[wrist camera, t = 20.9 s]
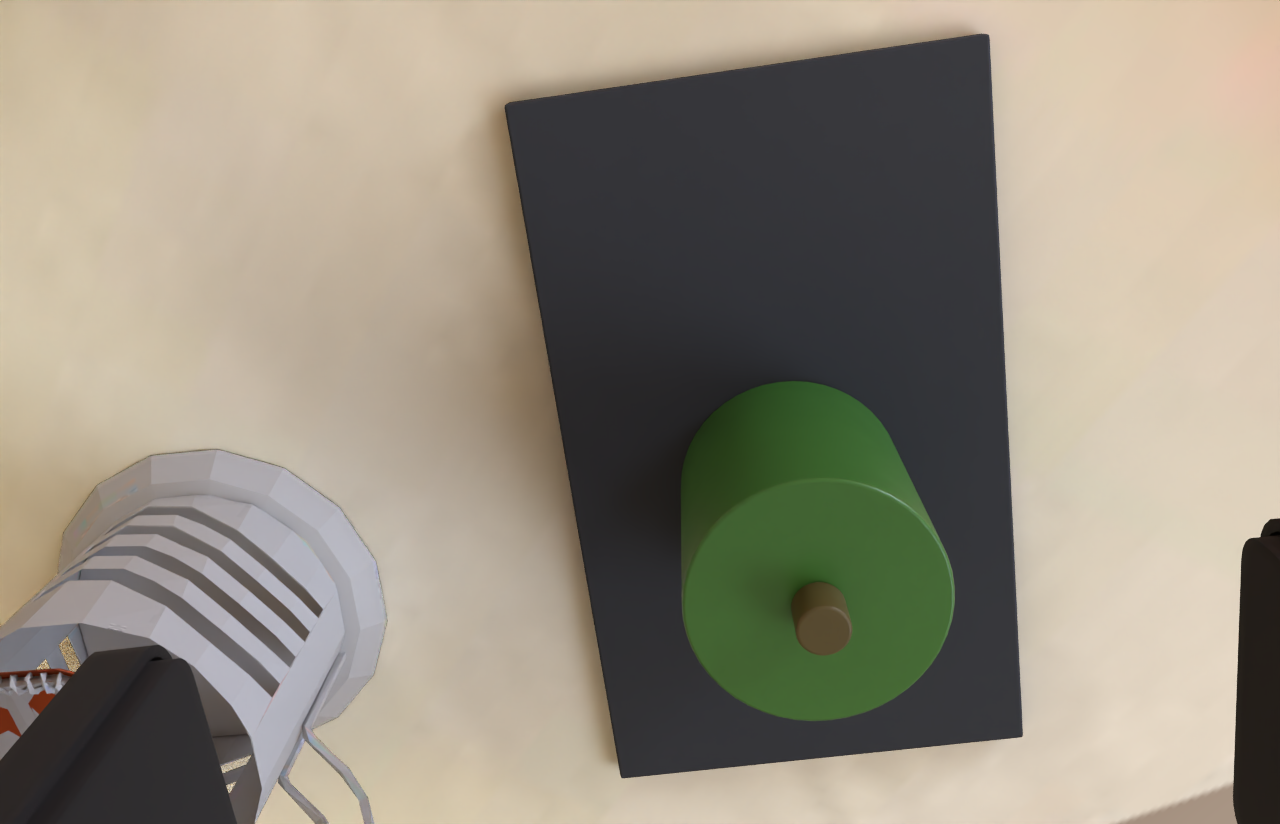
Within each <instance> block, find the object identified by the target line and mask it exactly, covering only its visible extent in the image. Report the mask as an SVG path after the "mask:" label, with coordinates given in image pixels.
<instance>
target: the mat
mask: <svg viewBox="0 0 1280 824" xmlns="http://www.w3.org/2000/svg"><path fill="white" fill-rule="evenodd" d="M505 112H506V118H507V124H508V130H509V135H510V141H511V147H512V153H513V159H514V164H515V170H516V176H517V182H518V187H519V193H520V199H521V205H522V210H523V216H524V222H525V228H526V233H527V239H528V245H529V251H530V256H531V262H532V268H533V274H534V280H535V285H536V291H537V297H538V303H539V308H540V314H541V320H542V326H543V331H544V337H545V343H546V349H547V354H548V360H549V366H550V372H551V377H552V383H553V389H554V395H555V401H556V406H557V412H558V418H559V424H560V429H561V435H562V441H563V447H564V452H565V458H566V464H567V470H568V475H569V481H570V487H571V493H572V498H573V504H574V510H575V516H576V522H577V527H578V533H579V539H580V545H581V550H582V556H583V562H584V568H585V573H586V579H587V585H588V591H589V596H590V602H591V608H592V614H593V619H594V625H595V631H596V637H597V643H598V648H599V654H600V660H601V666H602V671H603V677H604V683H605V689H606V694H607V700H608V706H609V712H610V717H611V723H612V729H613V735H614V740H615V746H616V752H617V758H618V764H619V769H620V775H621V777H622V778H631V777H640V776H650V775H660V774H669V773H679V772H689V771H698V770H708V769H718V768H728V767H737V766H747V765H757V764H766V763H776V762H786V761H795V760H805V759H815V758H824V757H834V756H844V755H853V754H863V753H873V752H882V751H892V750H902V749H911V748H921V747H931V746H941V745H950V744H960V743H970V742H979V741H989V740H999V739H1008V738H1018V737H1022V735H1023V729H1022V708H1021V687H1020V667H1019V646H1018V625H1017V604H1016V583H1015V562H1014V541H1013V520H1012V499H1011V478H1010V457H1009V437H1008V416H1007V395H1006V374H1005V353H1004V332H1003V311H1002V290H1001V269H1000V248H999V227H998V207H997V186H996V165H995V144H994V123H993V102H992V81H991V60H990V39H989V35H987V34H977V35H970V36H963V37H956V38H949V39H942V40H935V41H929V42H922V43H915V44H908V45H901V46H894V47H887V48H881V49H874V50H867V51H860V52H853V53H846V54H839V55H832V56H826V57H819V58H812V59H805V60H798V61H791V62H784V63H778V64H771V65H764V66H757V67H750V68H743V69H736V70H729V71H723V72H716V73H709V74H702V75H695V76H688V77H681V78H675V79H668V80H661V81H654V82H647V83H640V84H633V85H627V86H620V87H613V88H606V89H599V90H592V91H585V92H578V93H572V94H565V95H558V96H551V97H544V98H537V99H530V100H524V101H517V102H510V103H508V104H506V105H505ZM786 381H802V382H812V383H817V384H822V385H826V386H829V387H832V388H835V389H837V390H840V391H842V392H844V393H846V394H848V395H850V396H851V397H853V398H855V399H856V400H858V401H859V402H861V403H862V404H863V405H864V406H866V407H867V408H868V409H869V410H870V411H871V412H872V413H873V414H874V415H875V416H876V417H877V418H878V419H879V421H880V422H881V423H882V424H883V426H884V428H885V429H886V431H887V432H888V434H889V436H890V438H891V440H892V442H893V444H894V446H895V448H896V450H897V452H898V454H899V456H900V458H901V460H902V462H903V464H904V466H905V468H906V471H907V473H908V475H909V477H910V479H911V481H912V483H913V485H914V487H915V489H916V491H917V493H918V495H919V497H920V499H921V501H922V503H923V506H924V508H925V510H926V512H927V514H928V516H929V518H930V520H931V522H932V524H933V526H934V528H935V530H936V532H937V534H938V536H939V538H940V541H941V543H942V545H943V547H944V549H945V551H946V553H947V555H948V558H949V562H950V565H951V568H952V572H953V579H954V586H955V604H954V611H953V617H952V622H951V625H950V628H949V631H948V635H947V637H946V639H945V641H944V643H943V645H942V648H941V650H940V652H939V653H938V655H937V656H936V658H935V659H934V661H933V662H932V664H931V665H930V666H929V668H928V669H927V670H926V671H925V672H924V674H923V675H922V676H921V677H920V678H919V679H918V680H917V681H916V682H915V683H914V684H912V685H911V686H910V687H909V688H908V689H907V690H905V691H904V692H902V693H901V694H900V695H898V696H897V697H895V698H894V699H892V700H890V701H888V702H887V703H885V704H883V705H881V706H879V707H877V708H874V709H872V710H870V711H867V712H865V713H861V714H858V715H854V716H851V717H847V718H841V719H835V720H825V721H804V720H793V719H788V718H782V717H778V716H775V715H771V714H768V713H765V712H762V711H760V710H757V709H755V708H753V707H751V706H748V705H747V704H745V703H743V702H741V701H740V700H738V699H736V698H735V697H733V696H732V695H731V694H729V693H728V692H727V691H726V690H724V689H723V688H722V687H721V686H720V685H719V684H718V683H717V682H716V681H715V680H714V679H713V678H712V677H711V676H710V675H709V674H708V673H707V672H706V670H705V669H704V668H703V666H702V665H701V664H700V662H699V660H698V659H697V657H696V655H695V653H694V651H693V650H692V647H691V645H690V642H689V640H688V637H687V634H686V630H685V626H684V621H683V614H682V579H681V476H682V469H683V464H684V459H685V456H686V454H687V451H688V448H689V446H690V444H691V442H692V440H693V438H694V436H695V434H696V433H697V431H698V430H699V429H700V427H701V426H702V424H703V423H704V422H705V421H706V420H707V419H708V418H709V417H710V416H711V414H712V413H713V412H714V411H716V410H717V409H718V408H719V407H721V406H722V405H723V404H724V403H726V402H727V401H729V400H730V399H732V398H734V397H735V396H737V395H739V394H741V393H743V392H745V391H747V390H750V389H752V388H756V387H759V386H762V385H765V384H771V383H776V382H786Z"/></svg>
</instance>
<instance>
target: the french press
mask: <svg viewBox="0 0 1280 824" xmlns="http://www.w3.org/2000/svg"><path fill="white" fill-rule="evenodd" d="M386 624H387V616H386V611H385V605H384V600H383V595H382V590H381V585H380V580H379V575H378V570H377V564H376V561H375V559H374V558H373V557H372V555H371V554H370V552H369V551H368V549H367V548H366V546H365V545H364V543H363V542H362V540H361V539H360V537H359V536H358V534H357V533H356V531H355V530H354V528H353V527H352V525H351V524H350V522H349V521H348V519H347V518H346V516H345V515H344V513H343V512H342V510H341V509H340V508H339V507H338V506H337V505H335V504H334V503H332V502H331V501H330V500H328V499H327V498H325V497H324V496H323V495H321V494H320V493H318V492H317V491H316V490H314V489H313V488H311V487H310V486H309V485H307V484H306V483H304V482H303V481H302V480H300V479H299V478H297V477H296V476H294V475H293V474H292V473H290V472H289V471H287V470H286V469H285V468H282V467H279V466H275V465H272V464H268V463H264V462H261V461H257V460H254V459H250V458H246V457H243V456H239V455H236V454H232V453H228V452H225V451H221V450H218V449H216V450H205V451H194V452H183V453H173V454H162V455H151V456H149V457H148V458H146V459H144V460H142V461H140V462H138V463H137V464H135V465H133V466H131V467H129V468H127V469H125V470H124V471H122V472H120V473H118V474H116V475H114V476H113V477H111V478H109V479H107V480H105V481H103V482H102V483H100V484H98V485H97V486H96V487H95V489H94V490H93V491H92V493H91V494H90V496H89V497H88V498H87V500H86V501H85V503H84V504H83V506H82V507H81V508H80V510H79V511H78V513H77V514H76V515H75V517H74V518H73V520H72V521H71V522H70V524H69V525H68V527H67V528H66V530H65V531H64V532H63V539H62V546H61V552H60V559H59V566H58V572H57V575H56V576H55V577H54V578H53V579H52V580H51V581H50V582H49V583H48V584H47V585H45V586H44V587H43V588H42V589H41V590H40V591H39V592H38V593H37V594H36V595H35V596H34V597H32V598H31V599H30V600H29V601H28V602H27V603H26V604H25V605H24V606H23V607H22V608H21V609H19V610H18V611H17V612H16V613H15V614H14V615H13V616H12V617H11V618H10V619H9V620H7V621H6V622H5V623H4V624H3V625H2V626H1V627H0V760H1V759H2V758H3V757H4V755H5V754H6V753H7V752H8V751H9V749H10V748H11V747H12V746H13V745H14V744H15V742H16V741H17V740H18V739H19V738H20V736H21V735H22V734H23V733H24V732H25V731H26V729H27V728H28V727H29V726H30V725H31V724H32V722H33V721H34V720H35V719H36V718H37V716H38V715H39V714H40V713H41V712H42V711H43V709H44V708H45V707H46V706H47V705H48V704H49V702H50V701H51V700H52V699H53V698H54V696H55V695H56V694H57V693H58V692H59V691H60V689H61V688H62V687H63V686H64V685H65V683H66V682H67V681H68V680H69V679H70V678H71V676H72V675H73V674H74V673H75V672H72V671H69V669H68V667H67V664H66V662H65V660H64V657H63V655H62V653H61V650H60V648H59V646H58V645H59V644H60V643H61V642H62V641H63V640H64V639H65V638H66V637H67V636H68V638H69V640H70V643H71V646H72V648H73V649H74V651H75V654H76V656H77V658H78V661H79V663H80V665H82V663H83V662H84V661H85V660H86V659H87V658H88V657H89V656H90V655H91V654H93V653H94V652H98V651H106V650H115V649H124V648H133V647H142V646H151V645H160V646H162V647H164V648H166V650H167V651H168V652H169V654H170V655H171V656H172V659H176V658H182V659H184V660H186V661H187V663H188V664H189V666H190V667H191V670H192V672H193V675H194V678H195V681H196V685H197V688H198V692H199V695H200V698H201V702H202V705H203V709H204V712H205V716H206V719H207V722H208V726H209V729H210V733H211V736H212V739H213V743H214V746H215V750H216V753H217V756H218V760H219V763H220V766H222V765H225V764H228V763H230V762H233V761H236V760H238V759H241V758H244V757H246V756H249V755H251V757H250V759H249V761H248V763H247V764H246V765H244V766H241V767H239V768H236V769H233V770H231V771H228V772H226V773H223V777H224V780H225V784H226V785H228V784H231V783H233V782H236V781H237V782H236V784H235V786H234V787H233V789H232V791H231V793H228V794H229V797H230V801H231V804H232V808H233V811H234V814H235V818H236V821H237V824H255V822H256V820H257V819H258V817H259V815H260V813H261V811H262V809H263V807H264V805H265V803H266V801H267V799H268V797H269V795H270V793H271V791H272V789H273V787H274V785H275V783H276V782H277V780H278V783H279V784H280V786H281V787H282V788H283V789H284V790H285V791H286V792H287V793H288V794H289V795H290V796H291V797H292V799H293V800H294V801H295V802H296V803H297V804H298V805H299V806H300V807H301V808H302V809H303V811H304V812H305V813H306V814H307V815H308V816H309V817H310V818H311V819H312V820H313V821H314V823H315V824H329V823H328V821H327V820H326V818H325V816H324V815H323V814H322V813H321V812H320V811H319V810H318V809H317V808H316V807H314V806H313V805H312V804H311V803H310V802H309V801H308V800H307V799H306V798H305V797H304V796H303V795H302V794H301V793H300V792H299V791H298V790H297V789H296V788H295V787H294V786H293V785H292V784H291V783H290V781H289V778H288V775H289V773H290V771H291V769H292V766H293V764H294V762H295V760H296V758H297V756H298V754H299V752H300V750H301V748H302V746H303V744H304V742H305V741H306V742H307V743H308V744H309V745H310V746H311V747H312V748H313V749H314V750H315V751H316V752H317V753H318V754H319V755H320V756H321V757H322V758H323V759H324V760H326V761H327V762H328V763H329V764H330V765H331V766H332V767H333V768H334V769H335V770H336V771H337V772H338V773H339V774H340V775H341V777H342V778H343V779H344V781H345V782H346V783H347V785H348V786H349V788H350V789H351V790H352V792H353V793H354V794H355V796H356V797H357V798H358V800H359V803H360V807H361V812H362V816H363V820H364V824H374V820H373V816H372V812H371V808H370V804H369V800H368V797H367V795H366V794H365V792H364V791H363V789H362V787H361V786H360V784H359V783H358V781H357V780H356V778H355V777H354V775H353V773H352V772H351V770H350V769H349V767H347V766H346V765H345V764H344V763H343V762H342V761H341V760H340V759H339V758H338V757H337V756H336V755H335V754H334V753H333V752H332V751H331V750H330V749H328V748H327V747H326V746H325V745H324V744H323V743H322V742H321V741H320V740H319V739H318V738H317V737H316V736H315V735H314V733H313V731H312V729H314V728H317V727H319V726H321V725H323V724H325V723H327V722H329V721H331V720H333V719H335V718H337V717H338V716H339V715H340V714H341V713H342V712H343V711H344V709H345V708H346V707H347V706H348V705H349V703H350V702H351V701H352V700H353V699H354V697H355V696H356V695H357V694H358V693H359V692H360V690H361V689H362V688H363V687H364V686H365V684H366V683H367V682H368V681H369V680H370V679H371V677H372V676H373V675H374V671H375V667H376V664H377V660H378V656H379V652H380V648H381V644H382V640H383V636H384V632H385V628H386ZM45 659H46V660H47V662H48V664H49V667H50V669H41V670H35V669H36V668H37V667H38V666H39V665H40V664H41V663H42V662H43V661H44V660H45Z"/></svg>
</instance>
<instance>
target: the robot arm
mask: <svg viewBox="0 0 1280 824" xmlns="http://www.w3.org/2000/svg"><path fill="white" fill-rule="evenodd" d="M1233 803H1234V811H1235V816H1236V820H1237V823H1238V824H1280V518H1279V519H1270V520H1269V521H1268V522H1267V523H1266V524H1265V525H1264V528H1263V530H1262V533H1261V537H1259V538H1250V539H1248V540H1247V541H1246V542H1245V545H1244V547H1243V551H1242V559H1241V587H1240V616H1239V644H1238V673H1237V701H1236V730H1235V758H1234V787H1233ZM0 824H237V821H236V818H235V814H234V811H233V808H232V804H231V801H230V797H229V794H228V791H227V787H226V784H225V780H224V777H223V773H222V770H221V767H220V763H219V760H218V756H217V753H216V750H215V746H214V743H213V739H212V736H211V733H210V729H209V726H208V722H207V719H206V716H205V712H204V709H203V705H202V702H201V698H200V695H199V692H198V688H197V685H196V681H195V678H194V675H193V672H192V670H191V667H190V666H189V664H188V663H187V661H186V660H184V659H182V658H176V659H172V656H171V655H170V654H169V652H168V651H167V650H166V648H164V647H162V646H160V645H151V646H142V647H133V648H124V649H115V650H106V651H98V652H94V653H93V654H91V655H90V656H89V657H88V658H87V659H86V660H85V661H84V662H83V663H82V665H81V666H80V667H79V668H78V669H77V671H76V672H75V673H74V674H73V675H72V676H71V678H70V679H69V680H68V681H67V682H66V683H65V685H64V686H63V687H62V688H61V689H60V691H59V692H58V693H57V694H56V695H55V696H54V698H53V699H52V700H51V701H50V702H49V704H48V705H47V706H46V707H45V708H44V709H43V711H42V712H41V713H40V714H39V715H38V716H37V718H36V719H35V720H34V721H33V722H32V724H31V725H30V726H29V727H28V728H27V729H26V731H25V732H24V733H23V734H22V735H21V736H20V738H19V739H18V740H17V741H16V742H15V744H14V745H13V746H12V747H11V748H10V749H9V751H8V752H7V753H6V754H5V755H4V757H3V758H2V759H1V760H0Z"/></svg>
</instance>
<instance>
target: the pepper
mask: <svg viewBox="0 0 1280 824" xmlns="http://www.w3.org/2000/svg"><path fill="white" fill-rule="evenodd" d="M681 579H682V614H683V621H684V626H685V630H686V634H687V637H688V640H689V642H690V645H691V647H692V650H693V651H694V653H695V655H696V657H697V659H698V660H699V662H700V664H701V665H702V666H703V668H704V669H705V670H706V672H707V673H708V674H709V675H710V676H711V677H712V678H713V679H714V680H715V681H716V682H717V683H718V684H719V685H720V686H721V687H722V688H723V689H724V690H726V691H727V692H728V693H729V694H731V695H732V696H733V697H735V698H736V699H738V700H740V701H741V702H743V703H745V704H747V705H748V706H751V707H753V708H755V709H757V710H760V711H762V712H765V713H768V714H771V715H775V716H778V717H782V718H788V719H793V720H804V721H825V720H835V719H841V718H847V717H851V716H854V715H858V714H861V713H865V712H867V711H870V710H872V709H874V708H877V707H879V706H881V705H883V704H885V703H887V702H888V701H890V700H892V699H894V698H895V697H897V696H898V695H900V694H901V693H902V692H904V691H905V690H907V689H908V688H909V687H910V686H911V685H912V684H914V683H915V682H916V681H917V680H918V679H919V678H920V677H921V676H922V675H923V674H924V672H925V671H926V670H927V669H928V668H929V666H930V665H931V664H932V662H933V661H934V659H935V658H936V656H937V655H938V653H939V652H940V650H941V648H942V645H943V643H944V641H945V639H946V637H947V635H948V631H949V628H950V625H951V622H952V617H953V611H954V604H955V586H954V579H953V572H952V568H951V565H950V562H949V558H948V555H947V553H946V551H945V549H944V547H943V545H942V543H941V541H940V538H939V536H938V534H937V532H936V530H935V528H934V526H933V524H932V522H931V520H930V518H929V516H928V514H927V512H926V510H925V508H924V506H923V503H922V501H921V499H920V497H919V495H918V493H917V491H916V489H915V487H914V485H913V483H912V481H911V479H910V477H909V475H908V473H907V471H906V468H905V466H904V464H903V462H902V460H901V458H900V456H899V454H898V452H897V450H896V448H895V446H894V444H893V442H892V440H891V438H890V436H889V434H888V432H887V431H886V429H885V428H884V426H883V424H882V423H881V422H880V421H879V419H878V418H877V417H876V416H875V415H874V414H873V413H872V412H871V411H870V410H869V409H868V408H867V407H866V406H864V405H863V404H862V403H861V402H859V401H858V400H856V399H855V398H853V397H851V396H850V395H848V394H846V393H844V392H842V391H840V390H837V389H835V388H832V387H829V386H826V385H822V384H817V383H812V382H802V381H786V382H776V383H771V384H765V385H762V386H759V387H756V388H752V389H750V390H747V391H745V392H743V393H741V394H739V395H737V396H735V397H734V398H732V399H730V400H729V401H727V402H726V403H724V404H723V405H722V406H721V407H719V408H718V409H717V410H716V411H714V412H713V413H712V414H711V416H710V417H709V418H708V419H707V420H706V421H705V422H704V423H703V424H702V426H701V427H700V429H699V430H698V431H697V433H696V434H695V436H694V438H693V440H692V442H691V444H690V446H689V448H688V451H687V454H686V456H685V459H684V464H683V469H682V476H681Z"/></svg>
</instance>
